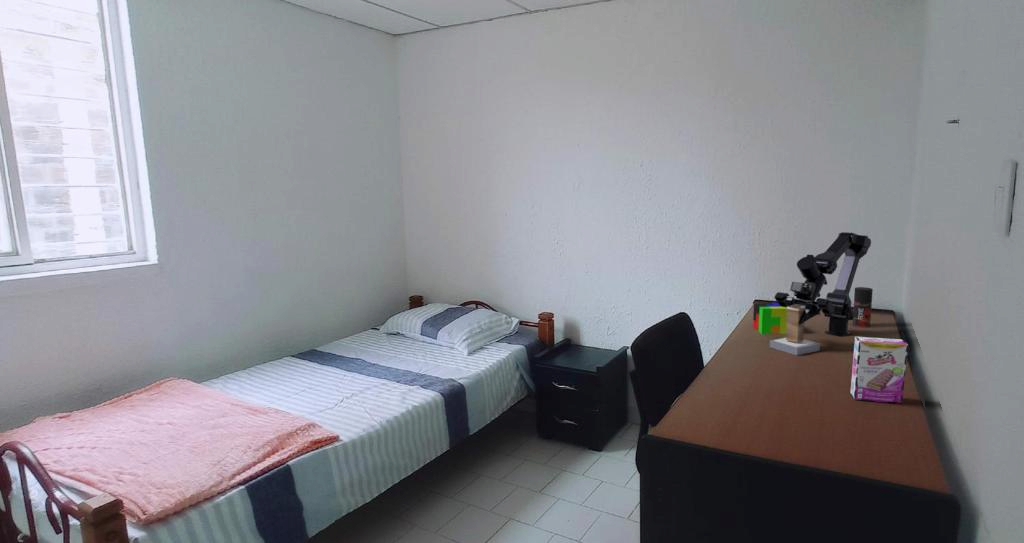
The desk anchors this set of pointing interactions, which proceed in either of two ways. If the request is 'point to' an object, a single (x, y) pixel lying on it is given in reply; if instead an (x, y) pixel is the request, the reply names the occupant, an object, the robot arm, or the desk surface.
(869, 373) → the candy bar box
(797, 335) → the beige rectangular block
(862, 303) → the deodorant
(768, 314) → the puzzle toy
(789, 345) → the plinth
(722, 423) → the desk surface
